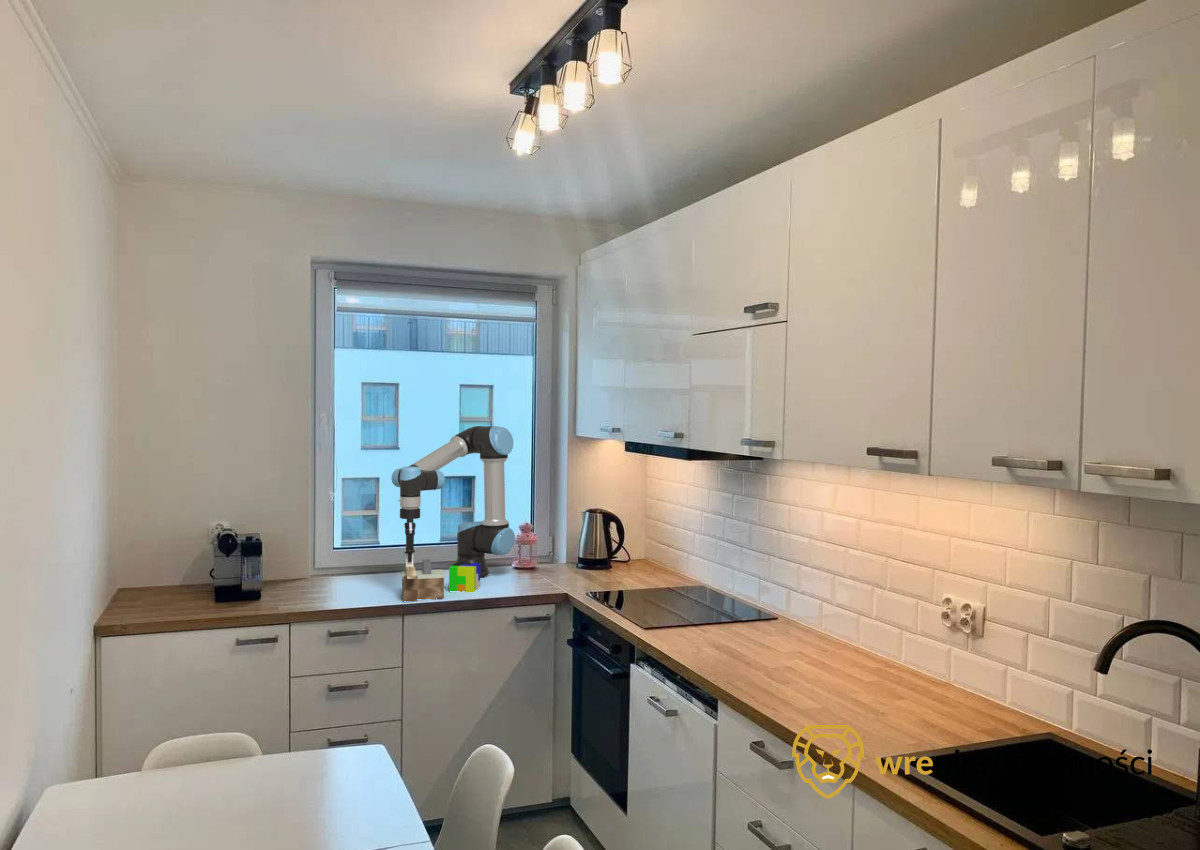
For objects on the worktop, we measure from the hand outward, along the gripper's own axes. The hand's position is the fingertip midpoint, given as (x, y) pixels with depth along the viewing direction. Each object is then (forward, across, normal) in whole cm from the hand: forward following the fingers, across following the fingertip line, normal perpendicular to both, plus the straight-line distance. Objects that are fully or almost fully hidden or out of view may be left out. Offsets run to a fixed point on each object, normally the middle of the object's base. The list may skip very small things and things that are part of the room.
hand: (409, 570), depth 323 cm
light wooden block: (+2, +5, 0) cm, 5 cm away
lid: (+4, -4, +5) cm, 8 cm away
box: (+11, -3, +5) cm, 13 cm away
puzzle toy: (+11, -12, +22) cm, 28 cm away
